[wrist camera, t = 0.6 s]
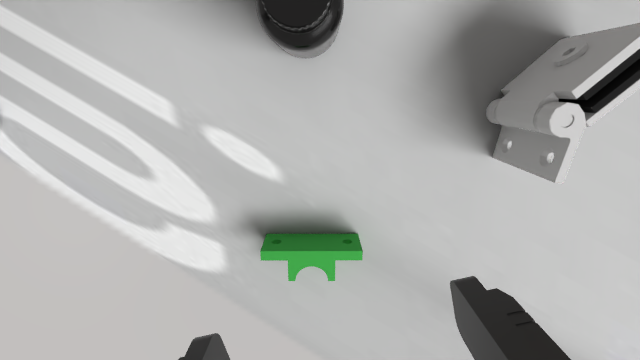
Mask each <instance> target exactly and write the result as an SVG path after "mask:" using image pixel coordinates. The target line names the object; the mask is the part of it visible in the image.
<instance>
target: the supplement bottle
mask: <svg viewBox="0 0 640 360" xmlns="http://www.w3.org/2000/svg"><path fill="white" fill-rule="evenodd" d="M343 8H344V0H256V10H257V14H258V18H259V21H260V23H261V25H262V27H263V29H264V30H265V32H266V33H267V35H268V36H269V37H270V38H271V39H272V40H273V41H274V42H275V43H276V44H277V45H279V46H280V47H281V48H282V49H283V50H284V51H286V52H287V53H289V54H290V55H292V56H295V57H298V58H313V57H316V56H318V55H320V54H322V53H324V52H325V51H326V50H327V49H328V48H329V47H330V46H331V45H332V43H333V42H334V40H335V38H336V36H337V33H338V30H339V26H340V23H341V19H342V15H343Z"/></svg>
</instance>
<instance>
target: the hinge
mask: <svg viewBox="0 0 640 360" xmlns="http://www.w3.org/2000/svg"><path fill="white" fill-rule="evenodd" d="M639 88H640V23H637V24H632V25H627V26H623V27H618V28H613V29H608V30H603V31H598V32H593V33H588V34H583V35H578V36H573V37H568V38H563V39H560V40H559V41H558V42H557V43H555V44H554V45H553V46H552V47H551V48H550V49H548V50H547V51H546V52H545V53H544V54H543V55H541V56H540V57H539V58H538V59H537V60H536V61H534V62H533V63H532V64H531V65H530V66H529V67H527V68H526V69H525V70H524V71H523V72H521V73H520V74H519V75H518V76H517V77H516V78H514V79H513V80H512V81H511V82H510V83H509V84H507V85H506V86H505V87H504V88H503V89H502V90H501V92H502V93H503V94H504V97H503V98H500V99H495V100H493V101H492V102H491V103H490V104H489V105H488V107H487V110H486V117H487V119H488V120H489V121H490V122H491V123H495V124H500V125H502V128H501V131H500V134H499V138H498V141H497V144H496V147H495V150H494V153H493V157H492V158H495V159H497V160H500V161H502V162H505V163H507V164H510V165H512V166H515V167H517V168H520V169H522V170H525V171H527V172H530V173H532V174H534V175H537V176H539V177H542V178H544V179H547V180H549V181H552V182H554V183H560V184H563V183H564V181H565V178H566V176H567V173H568V171H569V168H570V165H571V163H572V160H573V158H574V155H575V153H576V150H577V148H578V145H579V142H580V140H581V137H582V135H583V132H584V130H585V127H590V126H592V125H593V124H594V123H595V122H597V121H598V120H599V119H601V118H602V117H603V116H604V115H606V114H607V113H608V112H610V111H611V110H612V109H613V108H615V107H616V106H617V105H619V104H620V103H621V102H622V101H624V100H625V99H626V98H628V97H629V96H630V95H632V94H633V93H634V92H635V91H637V90H638V89H639ZM519 128H520V129H519ZM524 129H525V130H524ZM529 130H530V131H529ZM534 131H535V132H534ZM539 132H540V133H539ZM511 144H512V145H511ZM553 154H554V159H553V161H552V163H551V157H552V155H553Z"/></svg>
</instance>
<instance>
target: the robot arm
mask: <svg viewBox="0 0 640 360" xmlns="http://www.w3.org/2000/svg"><path fill="white" fill-rule="evenodd" d="M450 287H451V294H452V300H453V306H454V313H455V319H456V323H457V326H458V329H459V332H460V334H461V336H462V338H463V340H464V342H465V344H466V345H467V347H468V349H469V351H470V352H471V354H472V356H473V358H474V359H475V360H571V359H570V358H569V357H568V356H567V355H566V354H565V353H564V352H563V351H562V350H561V349H560V347H559V346H558V345H557V344H556V343H555V342H554V341H553V340H552V339H551V338H550V337H549V336H548V335H547V333H546V332H545V331H544V330H543V329H542V328H541V327H540V326H539V325H538V324H537V323H535V321H534V319H533V318H532V317H531V316H530V315H529V314H528V313H526V312H525V310H524V309H523V308H522V307H521V305H520V304H519V303H518V302H517V301H516V300H515V299H514V298H513V297H511V296H510V295H508V294H506V293H504V292H502V291H501V290H499V289H497V288H496V289H491V290H486V289H485V288H484V287H483V285H482V284H481V283H480V282H479V281H478V279H477V278H476V277H474V276H471V277H466V278H462V279H457V280H453V281H451V282H450ZM179 360H230V358H229V355H228V353H227V351H226V348H225V346H224V344H223V341H222V339H221V337H220V335H219V334H216V333H215V334H211V335H206V336H202V337H197V338H195V339H193V341H192V342H191V345H190V346H189V348H188V351H187V353H186V355H185V357H181V358H179Z"/></svg>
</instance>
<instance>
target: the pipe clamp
mask: <svg viewBox="0 0 640 360" xmlns="http://www.w3.org/2000/svg"><path fill="white" fill-rule="evenodd" d="M260 252H261V260H288V277H289V281H295V279H296V275H297V273H298V272H299V271H300V270H301V269H303V268H305V267H309V266H315V267H318V268H321V269H322V270H323V271H324V272H325V273H326V274H327V276H328V281H335V260H362V252H363V251H362V247H361V244H360V240H359V236H358V234H266V237H265V240H264V243H263V246H262V248H261V251H260Z"/></svg>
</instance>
